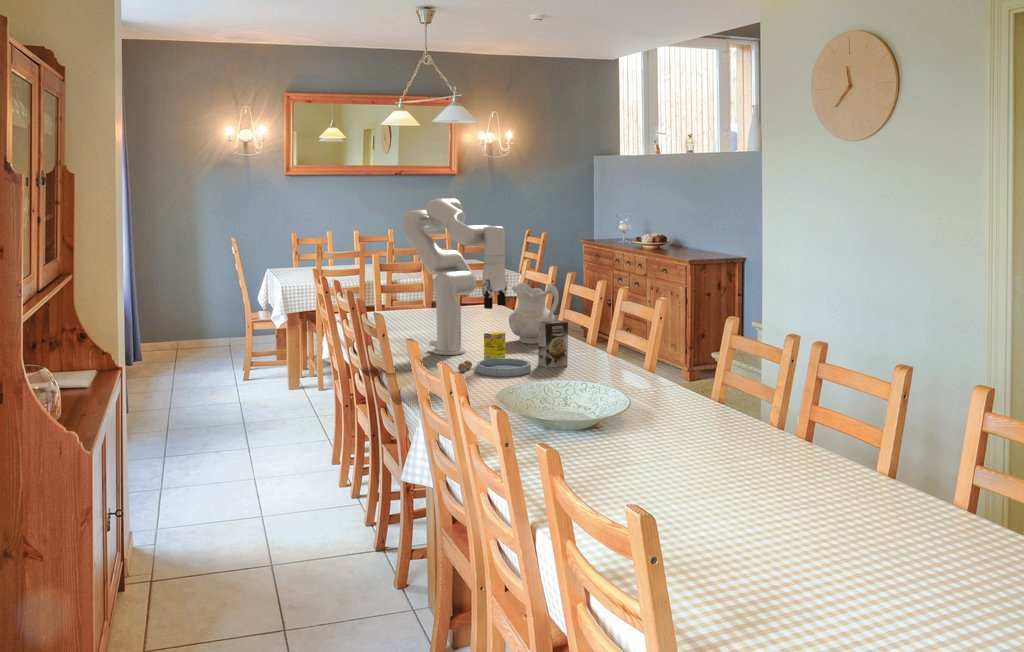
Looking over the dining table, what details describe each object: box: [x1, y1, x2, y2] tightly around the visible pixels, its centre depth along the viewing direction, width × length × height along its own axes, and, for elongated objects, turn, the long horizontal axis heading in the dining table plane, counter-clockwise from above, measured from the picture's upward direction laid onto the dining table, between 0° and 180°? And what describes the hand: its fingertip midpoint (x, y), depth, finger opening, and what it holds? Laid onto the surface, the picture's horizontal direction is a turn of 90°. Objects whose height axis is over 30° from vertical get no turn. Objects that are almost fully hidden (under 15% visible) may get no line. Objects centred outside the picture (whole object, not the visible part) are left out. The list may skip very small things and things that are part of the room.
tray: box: [476, 357, 532, 378], centre depth 319 cm, size 19×19×3 cm
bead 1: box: [457, 362, 468, 373], centre depth 318 cm, size 3×3×3 cm
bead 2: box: [463, 359, 473, 370], centre depth 323 cm, size 3×3×3 cm
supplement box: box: [483, 331, 506, 360], centre depth 335 cm, size 6×6×11 cm
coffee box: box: [537, 319, 569, 369], centre depth 328 cm, size 9×6×16 cm
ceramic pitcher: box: [508, 282, 560, 345], centre depth 377 cm, size 22×20×25 cm
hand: (494, 306), depth 333 cm, fingers open, 9 cm apart
